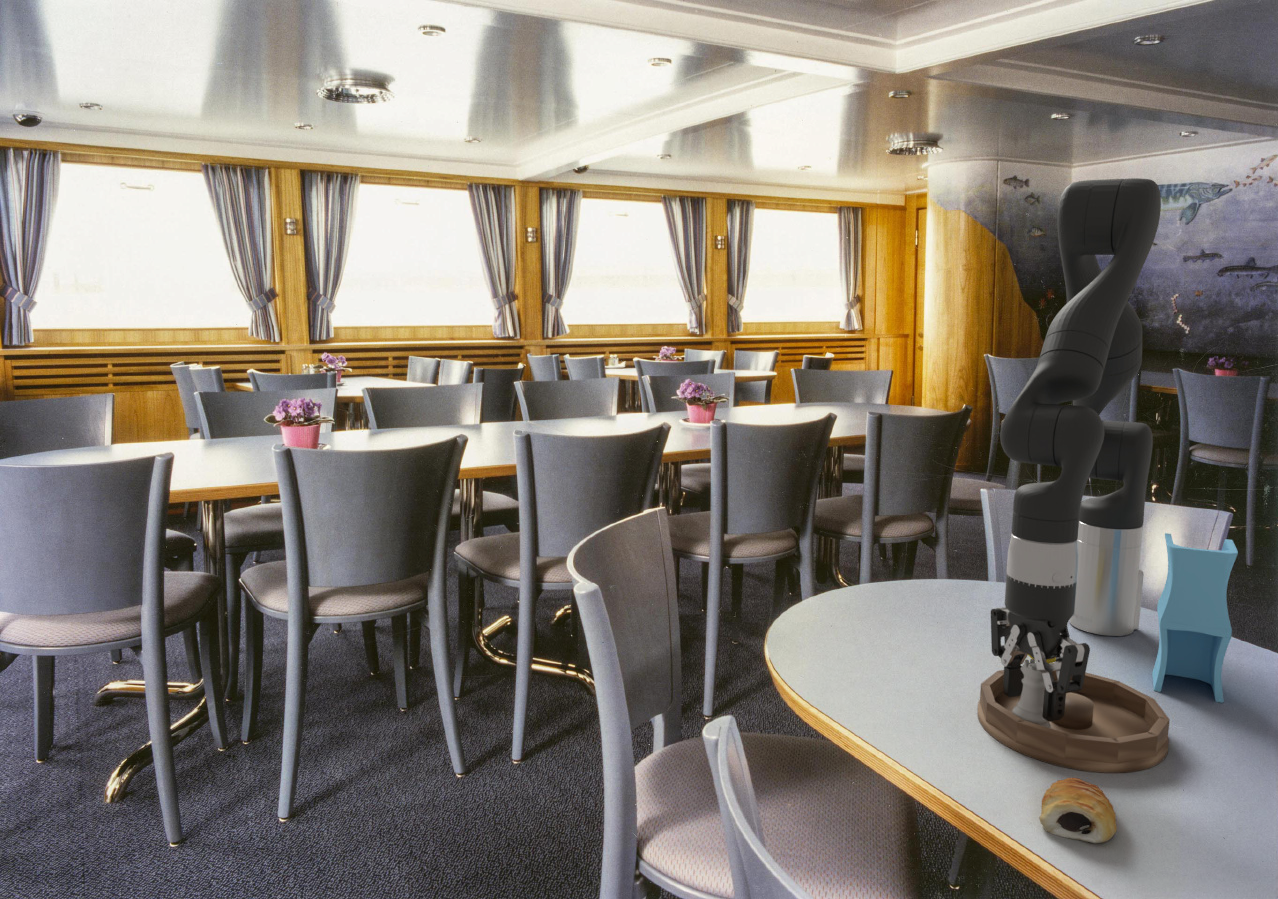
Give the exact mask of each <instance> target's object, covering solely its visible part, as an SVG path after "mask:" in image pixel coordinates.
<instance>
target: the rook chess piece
mask: <svg viewBox="0 0 1278 899" xmlns="http://www.w3.org/2000/svg"><path fill="white" fill-rule="evenodd" d="M1021 666H1022V667H1021V668H1020V669H1021V671H1022V672H1023V674H1024V678H1023V679H1022V683H1023V689H1022V693H1021V698H1020V700H1019V702H1017V705H1016V706H1015V707H1014V708H1013V711H1012V713H1013V714H1015V715H1016V716H1018V717H1019V718H1021V719H1022V720H1025V721H1028V722H1031V723H1034V724H1038V725H1041V726H1044V727H1047V728H1050V727H1051V724H1050V723H1049V721H1047V720H1045V719H1044V718H1043V702H1044V690H1045V683H1044V679H1043V675H1042V673H1041V672H1039V671H1038V669H1037V666H1036V662H1035V659H1031V658H1030V660H1029V659H1025V661H1024V663H1023V664H1022V665H1021Z"/></svg>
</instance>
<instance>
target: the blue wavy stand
mask: <svg viewBox="0 0 1278 899" xmlns="http://www.w3.org/2000/svg"><path fill="white" fill-rule="evenodd" d="M1164 539H1165V544H1166V545H1165V546H1166V553H1167V576H1166V580H1165V584H1164V587H1163V590H1162V592H1161V595H1160V597H1159V599H1158V600H1157V601H1158V602H1157V607H1156V609H1157V610H1156V611H1157V617H1158V618H1157V619H1158V629H1159V630H1158V631H1159V632H1158V633H1159V634H1158V635H1159V639H1158V641H1159V643H1158V644H1159V645H1158V649H1157V650H1158V651H1157V656H1156V659H1155V663H1154V666H1153V669H1152V674H1151V675H1152V683H1153V684H1152V687H1153V691H1155V692H1157V693H1158V692H1159V693H1161V691H1162V688H1163V684H1164V679H1165V675H1167V676H1168V675H1169V676H1175V677H1182V678H1187V679H1188V678H1189V679H1192V680H1193V679H1195V680H1199V681H1202V682H1204V683H1207V684H1208V685H1211V688H1212V692H1213V697H1214V700H1215V702H1216V703H1224V702H1225V701H1224V695H1223V694H1224V692H1223V684H1222V682H1223V681H1222V679H1223V678H1222V674H1223V665H1224V660H1225V657H1226V653H1227V650H1228V647H1229V644H1230V642H1231V639H1232V634H1233V628H1232V625H1231V621H1230V617H1229V616H1230V615H1229V611H1228V603H1227V591H1228V590H1227V589H1228V584H1229V579H1230V575H1231V573H1232V572H1231V571H1232V569H1233V567H1234V563H1235V561H1236V559H1237V557H1238V554H1239V552H1238V549H1237V547H1236V545H1235V543H1234V540H1233V539H1229V538H1228V539H1227V538H1226V539H1224V540H1223V545H1222V548H1221V550H1218V549H1217V550H1215V549H1207V548H1206V549H1204V548H1196V547H1195V548H1194V547H1188V546H1187V547H1186V546H1182V545H1178V544H1174V542H1173V537H1172V533H1168V532H1167V533H1166V532H1165V533H1164Z"/></svg>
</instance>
